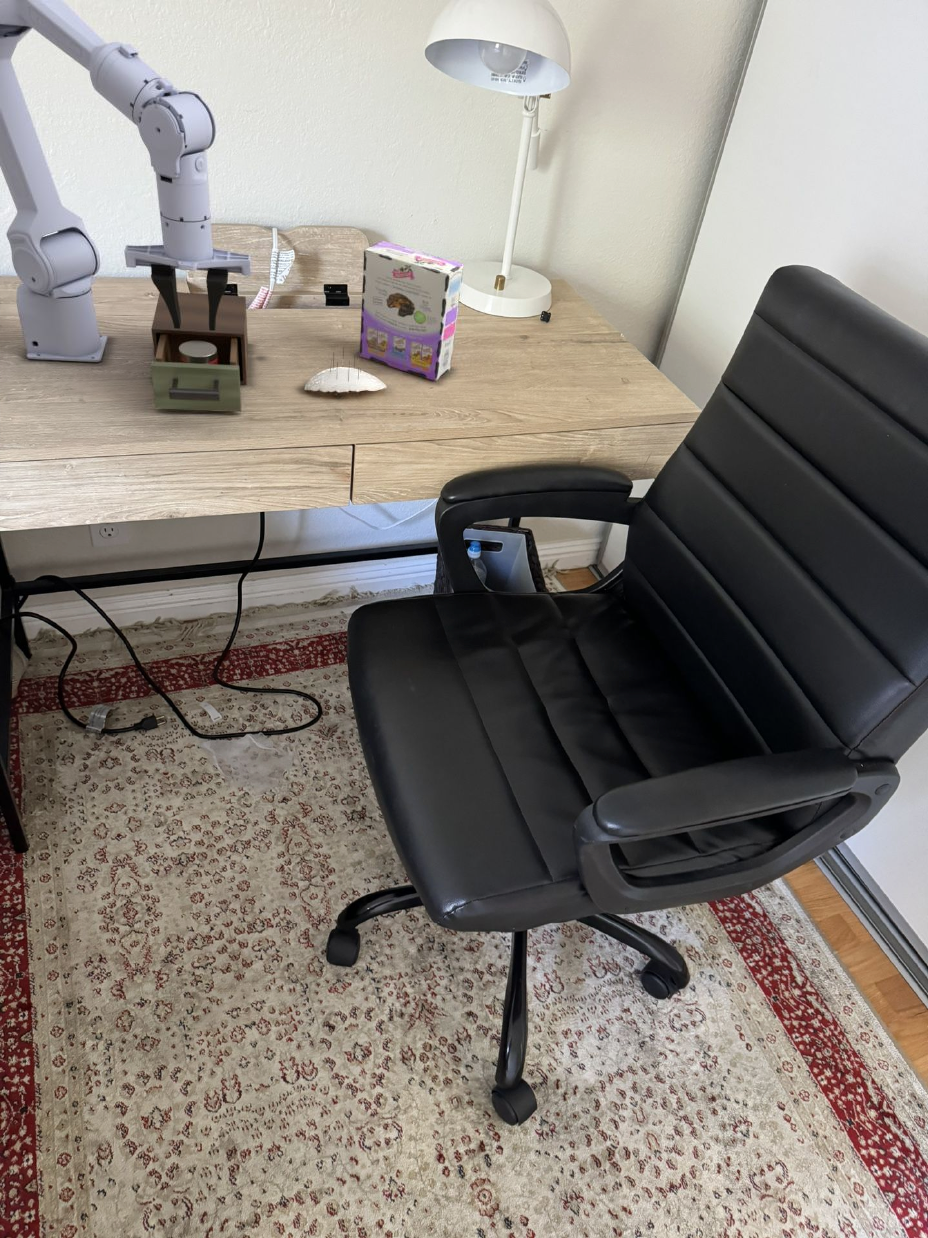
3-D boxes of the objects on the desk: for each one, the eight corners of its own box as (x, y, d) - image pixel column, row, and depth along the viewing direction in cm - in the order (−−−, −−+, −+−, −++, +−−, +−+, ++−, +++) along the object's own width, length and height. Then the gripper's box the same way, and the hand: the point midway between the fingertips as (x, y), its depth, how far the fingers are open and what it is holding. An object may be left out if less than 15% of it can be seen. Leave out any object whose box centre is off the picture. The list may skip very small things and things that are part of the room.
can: (180, 390, 107) (177, 355, 104) (183, 374, 111) (179, 339, 108) (218, 392, 108) (216, 357, 105) (220, 375, 112) (217, 341, 109)
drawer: (240, 427, 104) (238, 385, 100) (152, 425, 102) (146, 381, 98) (242, 369, 116) (240, 329, 112) (163, 365, 114) (158, 324, 110)
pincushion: (381, 380, 121) (384, 344, 117) (390, 400, 117) (393, 363, 113) (301, 381, 118) (301, 344, 114) (307, 401, 113) (308, 363, 110)
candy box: (451, 369, 127) (466, 263, 116) (435, 383, 123) (449, 273, 112) (375, 343, 130) (382, 237, 119) (357, 356, 126) (362, 247, 115)
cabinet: (246, 384, 115) (244, 333, 110) (157, 381, 112) (151, 328, 107) (247, 344, 124) (245, 296, 119) (165, 340, 121) (159, 290, 116)
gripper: (115, 219, 90) (131, 336, 99) (248, 230, 94) (252, 342, 103) (122, 200, 95) (138, 312, 104) (249, 211, 99) (253, 319, 108)
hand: (195, 326), depth 104 cm, fingers open, 4 cm apart
